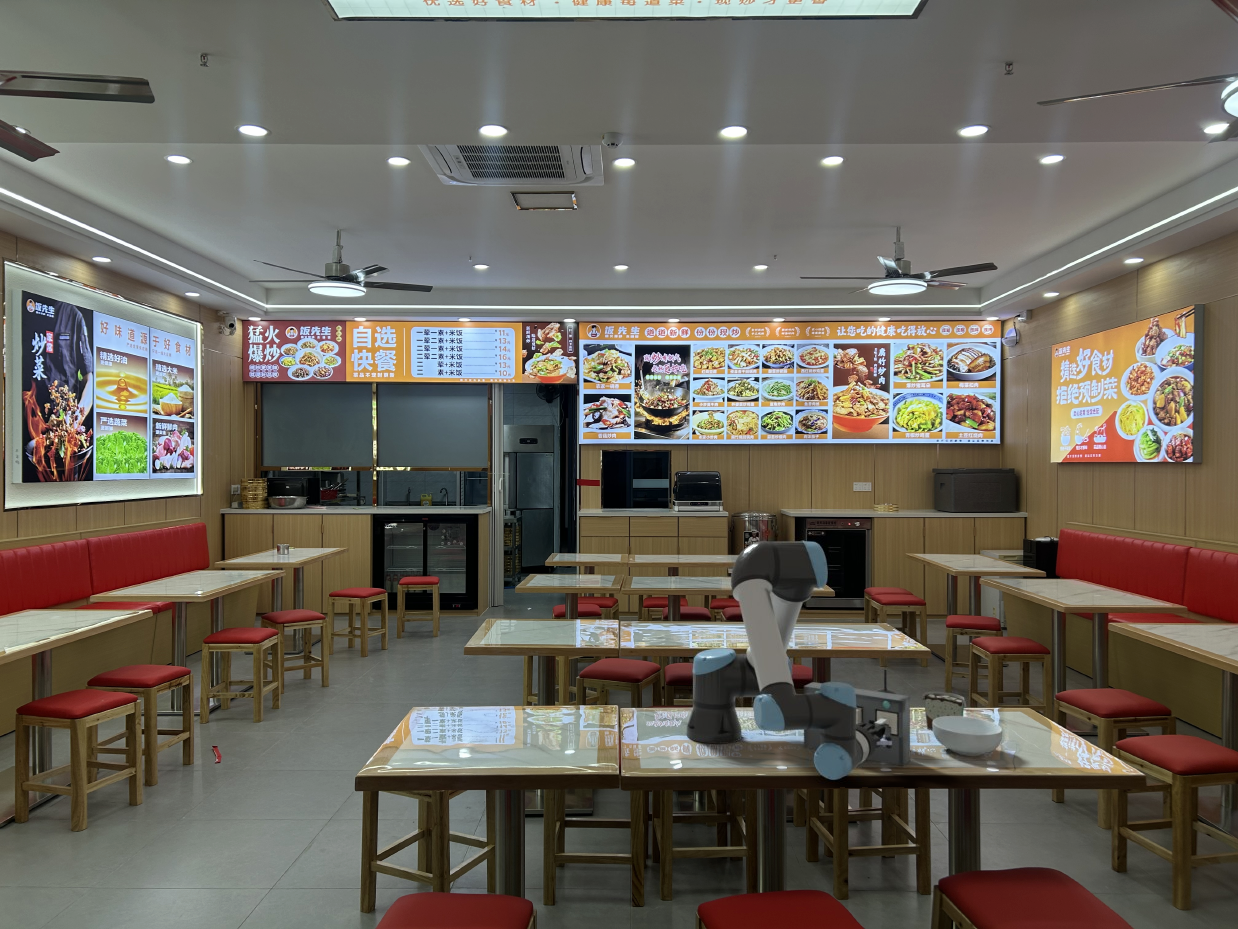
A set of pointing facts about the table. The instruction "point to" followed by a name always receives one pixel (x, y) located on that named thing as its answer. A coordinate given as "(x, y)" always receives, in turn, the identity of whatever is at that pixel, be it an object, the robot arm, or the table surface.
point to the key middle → (859, 715)
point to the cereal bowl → (967, 734)
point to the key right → (890, 719)
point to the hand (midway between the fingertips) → (886, 723)
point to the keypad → (871, 705)
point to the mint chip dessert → (942, 706)
